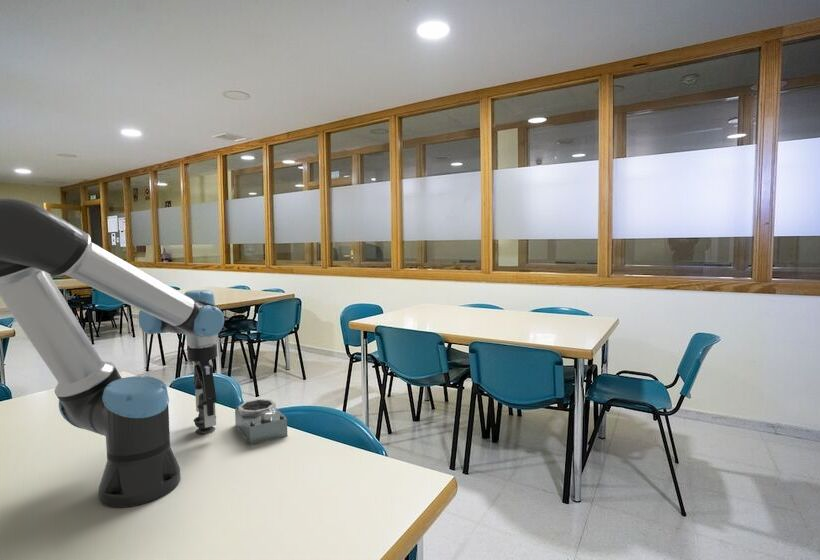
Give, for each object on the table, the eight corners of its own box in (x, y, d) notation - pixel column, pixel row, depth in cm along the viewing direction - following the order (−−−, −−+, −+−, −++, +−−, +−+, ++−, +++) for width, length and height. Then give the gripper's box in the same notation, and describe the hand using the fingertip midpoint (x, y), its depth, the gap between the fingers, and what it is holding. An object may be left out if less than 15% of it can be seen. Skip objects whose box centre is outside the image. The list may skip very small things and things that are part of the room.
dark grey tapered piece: (220, 426, 127) (219, 386, 126) (209, 435, 121) (207, 393, 120) (201, 426, 127) (199, 386, 127) (189, 434, 122) (187, 392, 121)
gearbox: (287, 435, 121) (286, 411, 120) (250, 445, 115) (249, 419, 114) (269, 417, 134) (268, 395, 133) (235, 425, 128) (234, 401, 127)
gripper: (226, 352, 114) (229, 429, 116) (207, 335, 135) (211, 402, 137) (194, 356, 110) (199, 437, 112) (180, 338, 130) (184, 407, 132)
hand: (205, 418), depth 124 cm, fingers open, 13 cm apart
